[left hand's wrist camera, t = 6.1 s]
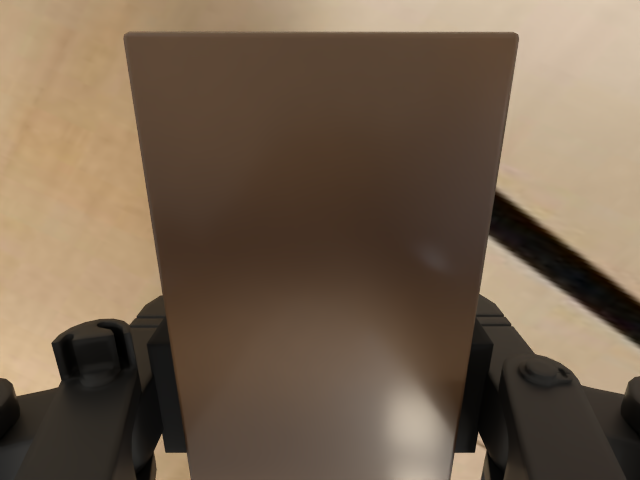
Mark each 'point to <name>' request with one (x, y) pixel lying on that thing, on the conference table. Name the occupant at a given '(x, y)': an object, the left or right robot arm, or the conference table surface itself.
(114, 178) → the conference table surface
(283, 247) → the post
